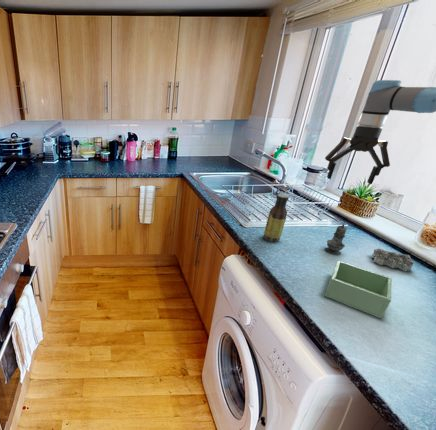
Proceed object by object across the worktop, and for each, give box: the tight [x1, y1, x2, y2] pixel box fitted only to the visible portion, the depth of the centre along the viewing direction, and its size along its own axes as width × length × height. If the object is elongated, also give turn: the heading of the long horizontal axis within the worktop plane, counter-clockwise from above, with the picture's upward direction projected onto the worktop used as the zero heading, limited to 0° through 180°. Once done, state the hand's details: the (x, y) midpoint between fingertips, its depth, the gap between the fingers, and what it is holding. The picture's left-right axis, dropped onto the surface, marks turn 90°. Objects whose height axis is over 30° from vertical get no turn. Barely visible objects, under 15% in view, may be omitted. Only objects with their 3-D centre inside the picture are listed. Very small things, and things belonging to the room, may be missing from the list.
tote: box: [323, 260, 393, 319], centre depth 88 cm, size 14×14×7 cm
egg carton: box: [371, 248, 415, 272], centre depth 105 cm, size 11×8×4 cm
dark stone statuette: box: [324, 223, 348, 256], centre depth 111 cm, size 6×6×12 cm
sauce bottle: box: [263, 193, 289, 243], centre depth 117 cm, size 6×6×20 cm
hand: (348, 180), depth 115 cm, fingers open, 13 cm apart
